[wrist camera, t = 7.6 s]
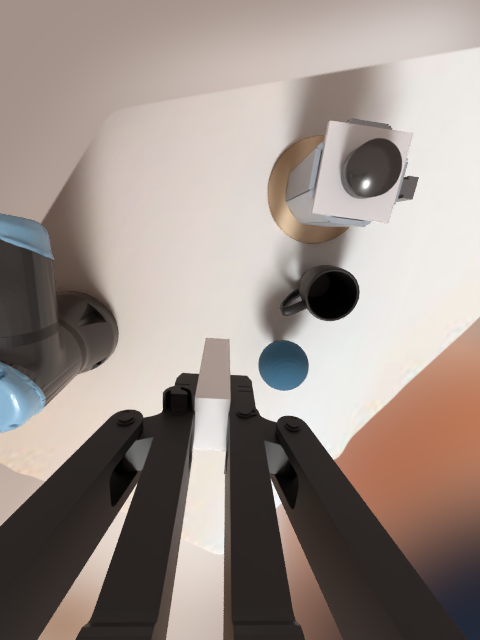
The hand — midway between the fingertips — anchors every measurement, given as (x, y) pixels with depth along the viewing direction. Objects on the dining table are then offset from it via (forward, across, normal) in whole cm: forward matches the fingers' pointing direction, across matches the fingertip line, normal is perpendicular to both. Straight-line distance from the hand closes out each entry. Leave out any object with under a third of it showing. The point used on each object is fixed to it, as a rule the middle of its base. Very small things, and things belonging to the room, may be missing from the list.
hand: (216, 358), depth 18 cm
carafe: (+33, +16, +15) cm, 39 cm away
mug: (+34, +15, -1) cm, 37 cm away
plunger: (+25, +14, +15) cm, 32 cm away
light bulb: (+34, +11, -13) cm, 38 cm away
